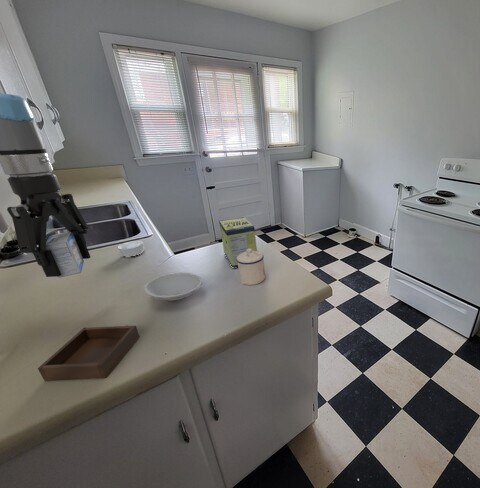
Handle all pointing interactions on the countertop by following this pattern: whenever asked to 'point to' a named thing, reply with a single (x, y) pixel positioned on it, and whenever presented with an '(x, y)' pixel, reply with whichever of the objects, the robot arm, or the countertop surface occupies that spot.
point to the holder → (90, 353)
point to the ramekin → (131, 248)
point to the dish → (173, 286)
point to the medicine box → (65, 253)
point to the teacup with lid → (251, 267)
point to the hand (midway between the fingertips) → (70, 266)
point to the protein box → (237, 238)
